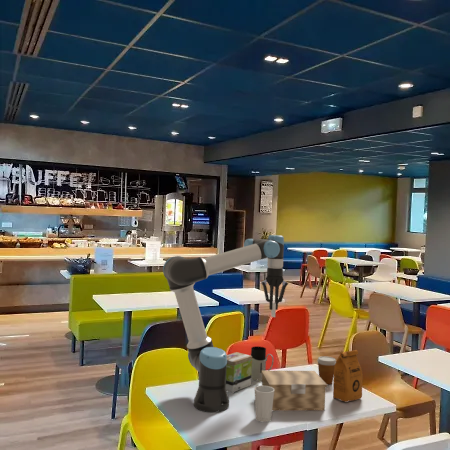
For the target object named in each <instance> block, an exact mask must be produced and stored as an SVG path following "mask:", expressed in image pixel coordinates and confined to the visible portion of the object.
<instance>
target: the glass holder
mask: <svg viewBox="0 0 450 450" xmlns="http://www.w3.org/2000/svg"><path fill="white" fill-rule="evenodd" d="M250 350H251V351H250V356H252V370H251V381H252V380H253V381H262V373H261V371H271V370H272V368H273V365H274V356H273V354H271V353H268V354H267V348H266V347H263V346H259V345H257V346H252V347H251V348H250ZM269 356H271V360H272V361H271V365H270V368H269V369H268V370H266V367H267V361H268V357H269Z"/></svg>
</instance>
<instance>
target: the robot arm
mask: <svg viewBox="0 0 450 450" xmlns="http://www.w3.org/2000/svg"><path fill="white" fill-rule="evenodd" d="M284 239H285V238H284V236H283V235H278V234H275V235H273V234H269V235H268V237H267V238H265V239H263V238H247V239H245V240H244V242H243V246H241V247H238V248H235V249H232V250H228V251H225V252H221V253H218V254H215V255H211V256H207V257H201V256H200V257H195V258H184V257H183V256H180V255H179V256H178V255H176V256H175V255H174V256H171V257H170V258H168V259H166V261H165V262H164V264H163V267H162V272H163V275H164V278H165V279H166V280H167V285H168V286H169V290H170V291H171V292H173V293H174V295H175V299H176V302H177V306H178V308H179V313H180V317H181V318H182V322H183V327H184V329H185V334H186V336H187V340H188V343H187V344H186V348H187V357H188V360H189V363H190V364H191V366H192V367H193V368H195V370H196V371H197V372H198V387H197V391H196V393H195V396H194V399H193V406H194V407H195V409H197V410H199V411H202V412H206V413H216V412H222V411H226V410H228V409H229V407H230V398H229V395H228V391H226V368H227V355H228V354H227V353H226V351H225V350H223V349H222V348H218V347H216V346H215V347H214V344H213V341H212V337H209V336H208V335H207V331H206V327H205V324H204V321H203V318H202V317H203V316H202V314H201V310H200V308H199V304H198V301H197V300H198V299H197V297H196V292H195V290H194V289H195V288H194V287H195V286H194V285H195V284H196V283H197V282H200V281H203V280H206V279H208V277H209V276H211V275H216V274H218V273H220V272H225V271H228V270H230V269H235V268H238V267H240V266H244V265H247V264H250V263H254V262H259V261H260V260H264V259H267V269H266V277H265V280H263V281H260V282H261V285H262V288H263V292H264V299H265V301H266V302H268V303H269V306H268V307H269V310H271V311H270V316H271V318H276V314H277V313H276V311H277V310H278V309H279V308H278V307H279V303H282V302H283V298H284V296H285V291H286V289H287V286H288V284H289V283H288V282H287V281H285V280H284V278H283V277H284V274H283V272H284V269H283V267H284V252H285V251H284V250H285V240H284ZM267 284H268V285H269V293H268V287H267ZM281 285H282V286H281ZM280 287H281V289H280ZM279 291H280V293H279Z"/></svg>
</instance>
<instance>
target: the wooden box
mask: <svg viewBox="0 0 450 450" xmlns="http://www.w3.org/2000/svg"><path fill="white" fill-rule="evenodd" d="M261 386H268V384H267V382H266V381H265V379H264V377H263V375H262V380H261ZM272 388H274V397H273V406H272V412H273V411H274V412H275V411H279V412H280V411H284V412H285V411H292V412H293V411H325V410H326V409H325V408H326V387H305V394H291V387H272Z"/></svg>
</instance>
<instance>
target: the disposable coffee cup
mask: <svg viewBox="0 0 450 450" xmlns="http://www.w3.org/2000/svg"><path fill="white" fill-rule="evenodd" d="M336 361H337V359H336V358H334V357H332V356H327V355H326V356H323V355H322V356H319V357H318V358H317V360H316V362H317V365H318V366H317V367H318V375H319V376H320V377H321V379H322V380H323V381H324V382H325V383H326V384H327V385H333V380H334V368H335V363H336Z"/></svg>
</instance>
